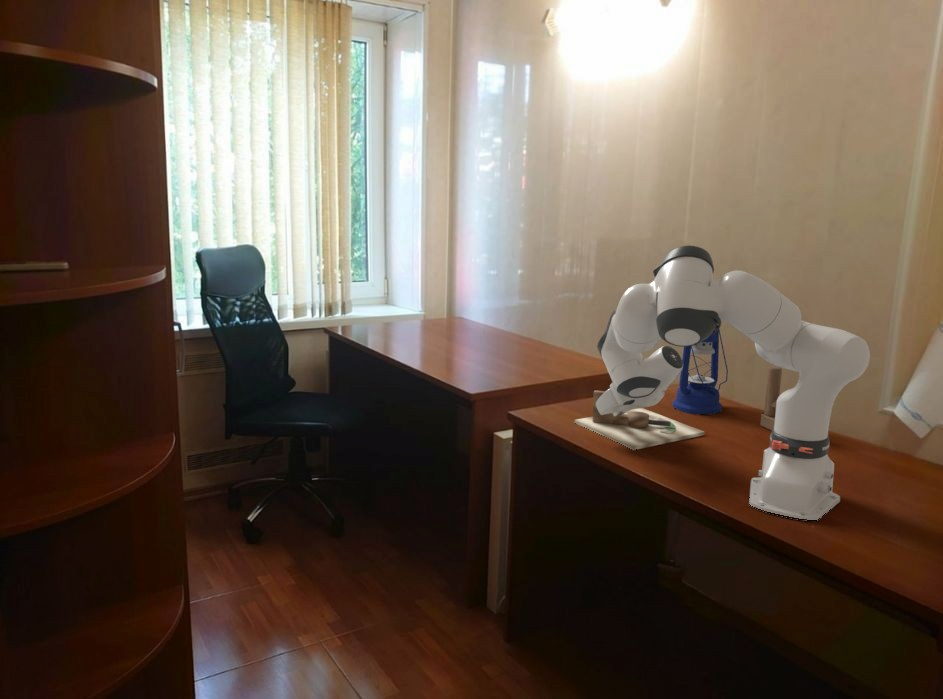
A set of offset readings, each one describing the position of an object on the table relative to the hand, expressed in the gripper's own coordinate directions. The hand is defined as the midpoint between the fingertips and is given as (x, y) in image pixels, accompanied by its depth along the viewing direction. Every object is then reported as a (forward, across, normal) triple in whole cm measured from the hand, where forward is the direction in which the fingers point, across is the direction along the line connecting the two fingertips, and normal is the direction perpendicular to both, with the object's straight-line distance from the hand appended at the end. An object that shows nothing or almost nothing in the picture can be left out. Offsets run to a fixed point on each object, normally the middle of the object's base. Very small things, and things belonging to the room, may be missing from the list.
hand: (616, 413), depth 202 cm
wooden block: (-10, -42, +19) cm, 47 cm away
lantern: (+9, -38, -1) cm, 39 cm away
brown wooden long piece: (+3, -6, +3) cm, 7 cm away
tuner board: (+3, -7, +4) cm, 9 cm away
